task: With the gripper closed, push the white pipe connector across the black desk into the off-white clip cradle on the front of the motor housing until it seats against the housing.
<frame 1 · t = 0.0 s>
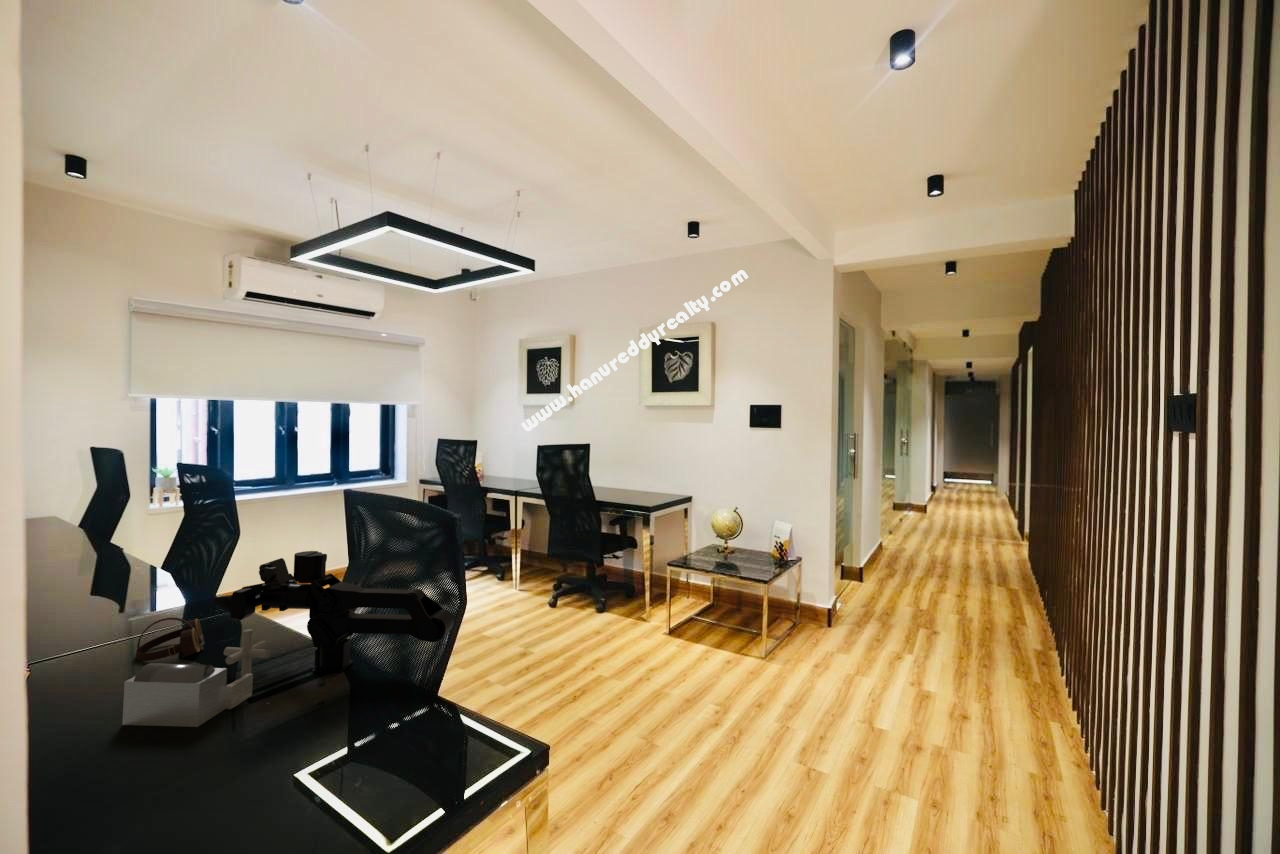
hand: (228, 594, 133), 17 cm above the table, tool horizontal, fingers open, 9 cm apart
goggles: (170, 653, 140), on the table
motor housing: (175, 716, 108), on the table
pipe connector: (246, 675, 128), on the table
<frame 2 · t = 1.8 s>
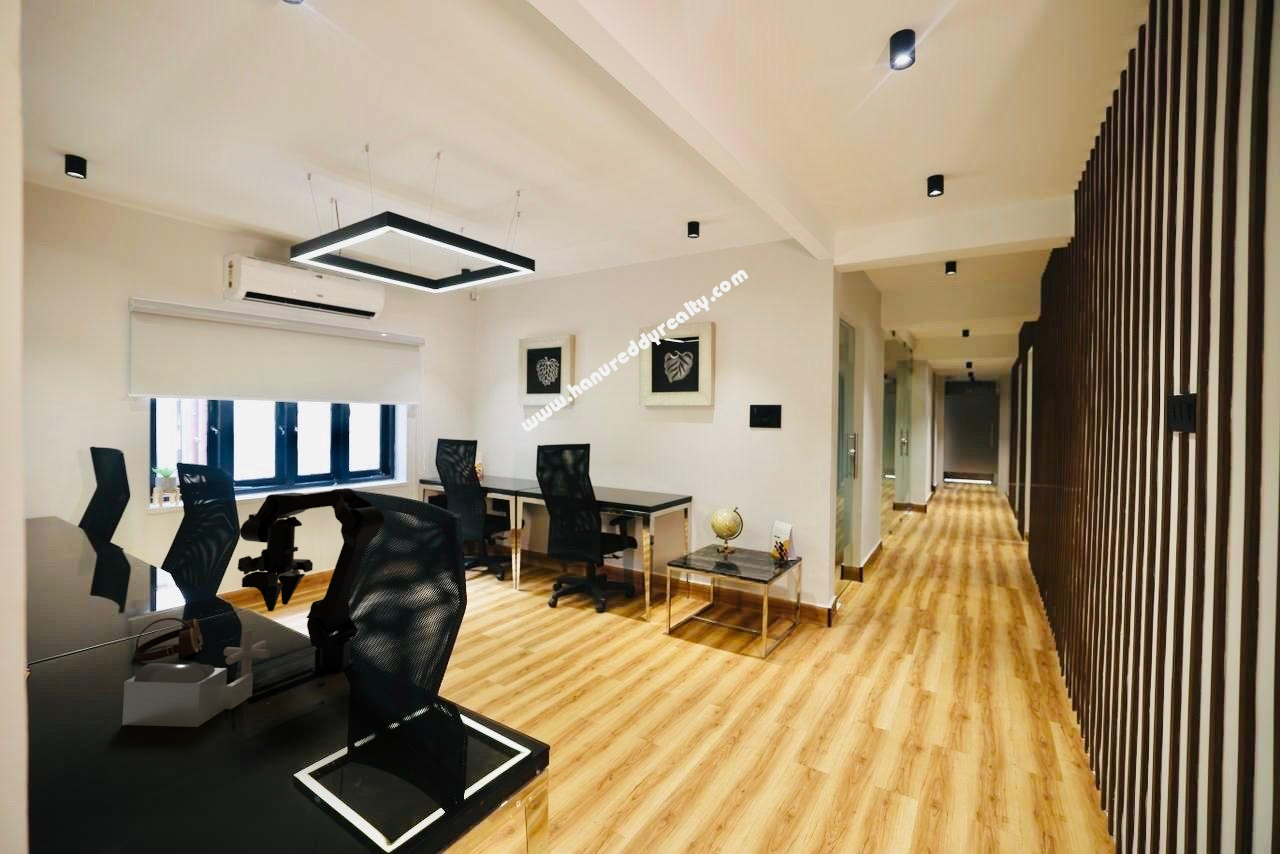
hand: (277, 607, 138), 12 cm above the table, tool pointing down, fingers open, 5 cm apart
nothing on the table moved.
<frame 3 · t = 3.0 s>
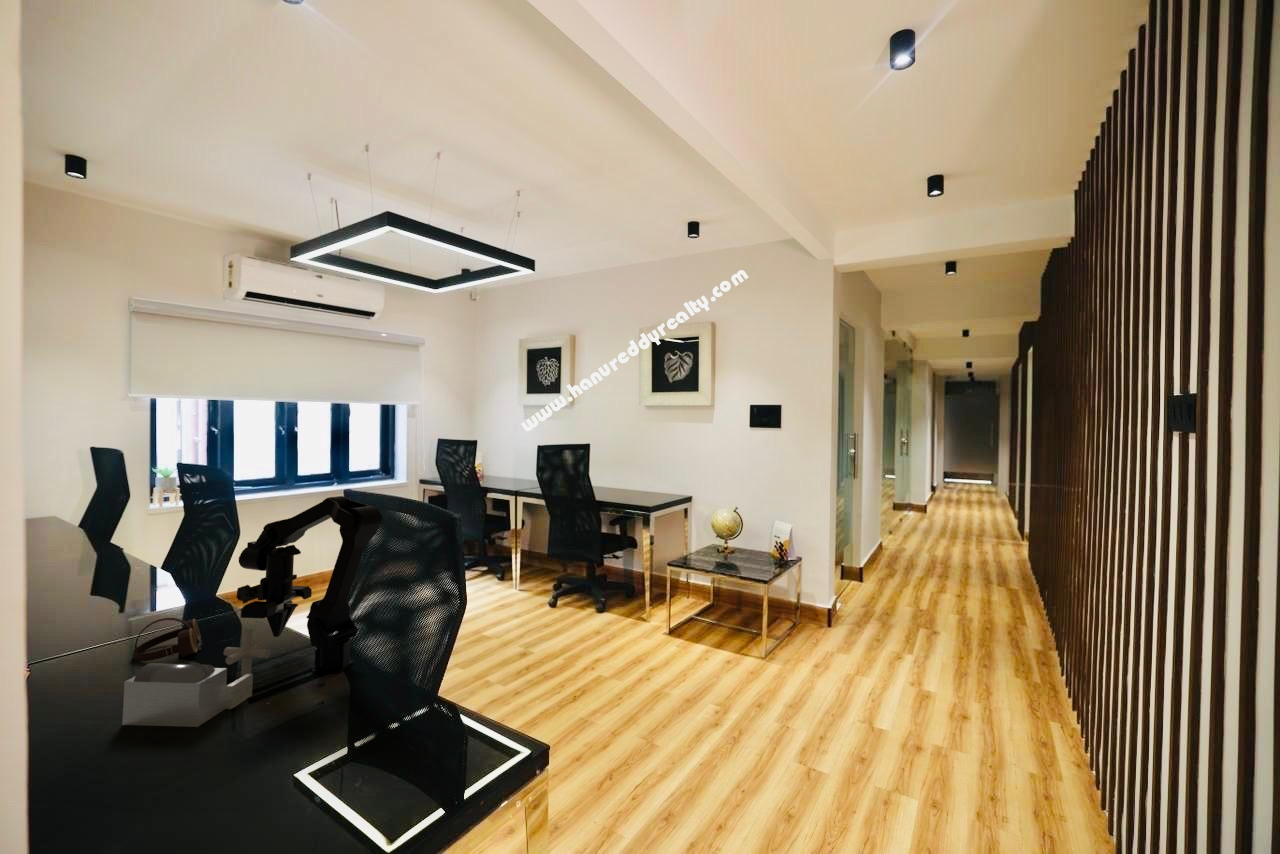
hand: (276, 636, 138), 5 cm above the table, tool pointing down, fingers closed
nothing on the table moved.
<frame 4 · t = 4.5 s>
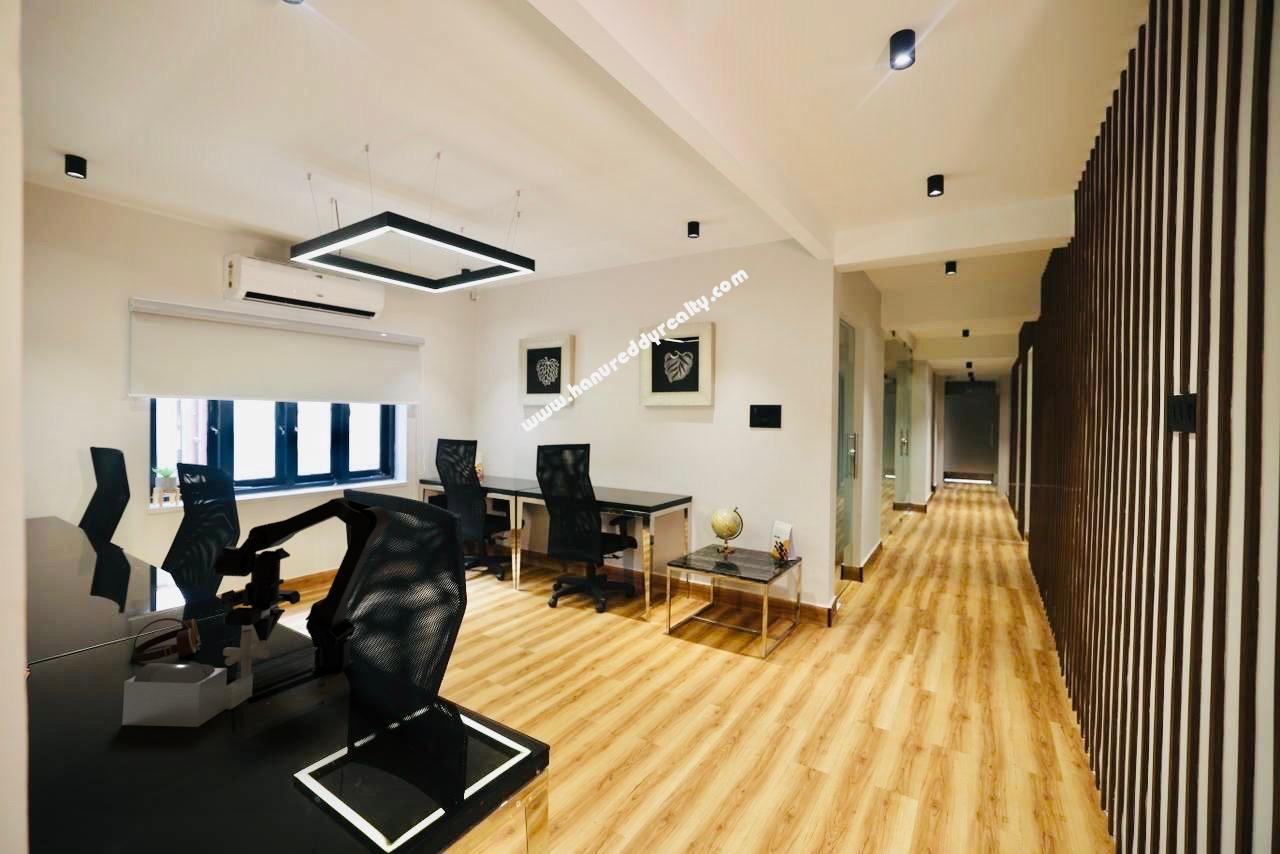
hand: (263, 643, 133), 5 cm above the table, tool pointing down, fingers closed
pipe connector: (246, 675, 128), on the table, touching gripper
everything else where it was.
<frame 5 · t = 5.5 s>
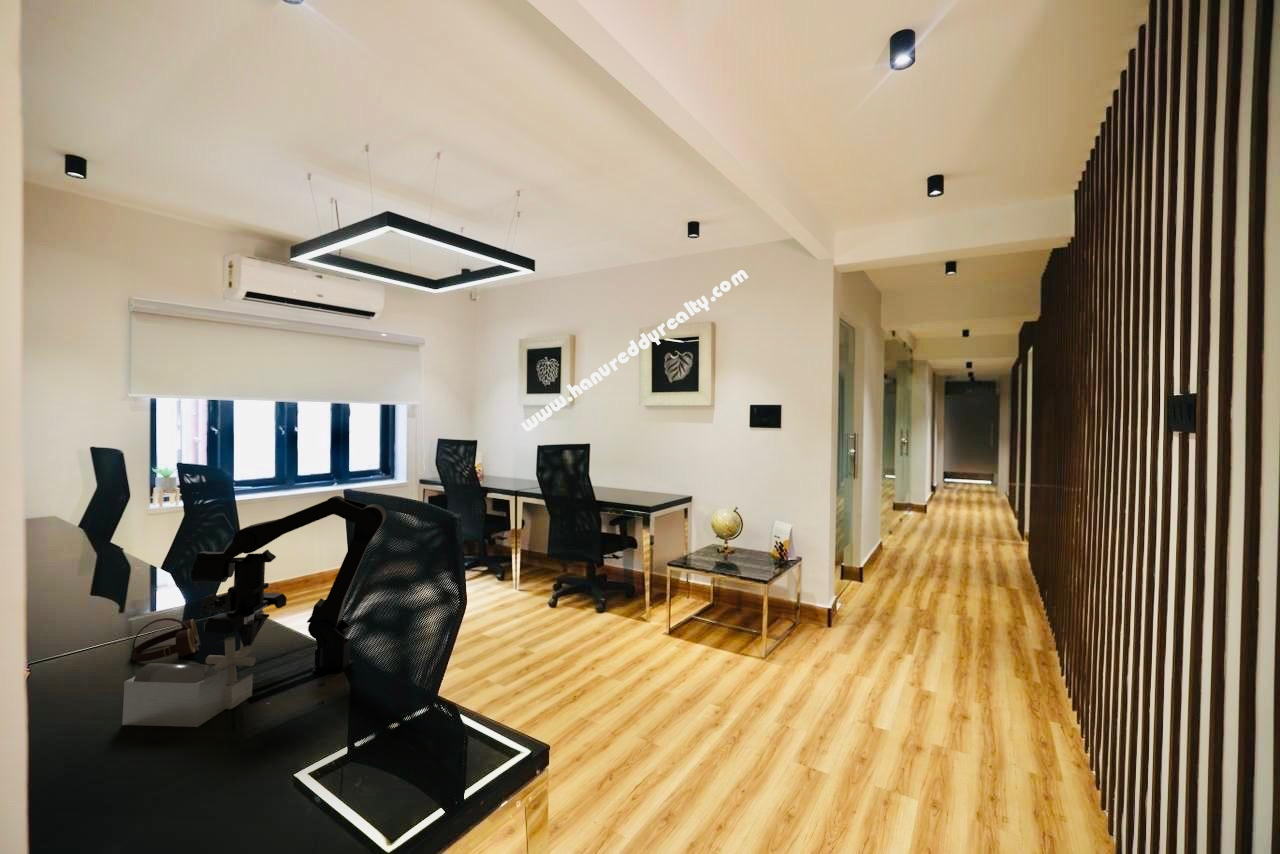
hand: (246, 648, 128), 6 cm above the table, tool pointing down, fingers closed
pipe connector: (231, 683, 123), on the table, touching gripper
everything else where it was.
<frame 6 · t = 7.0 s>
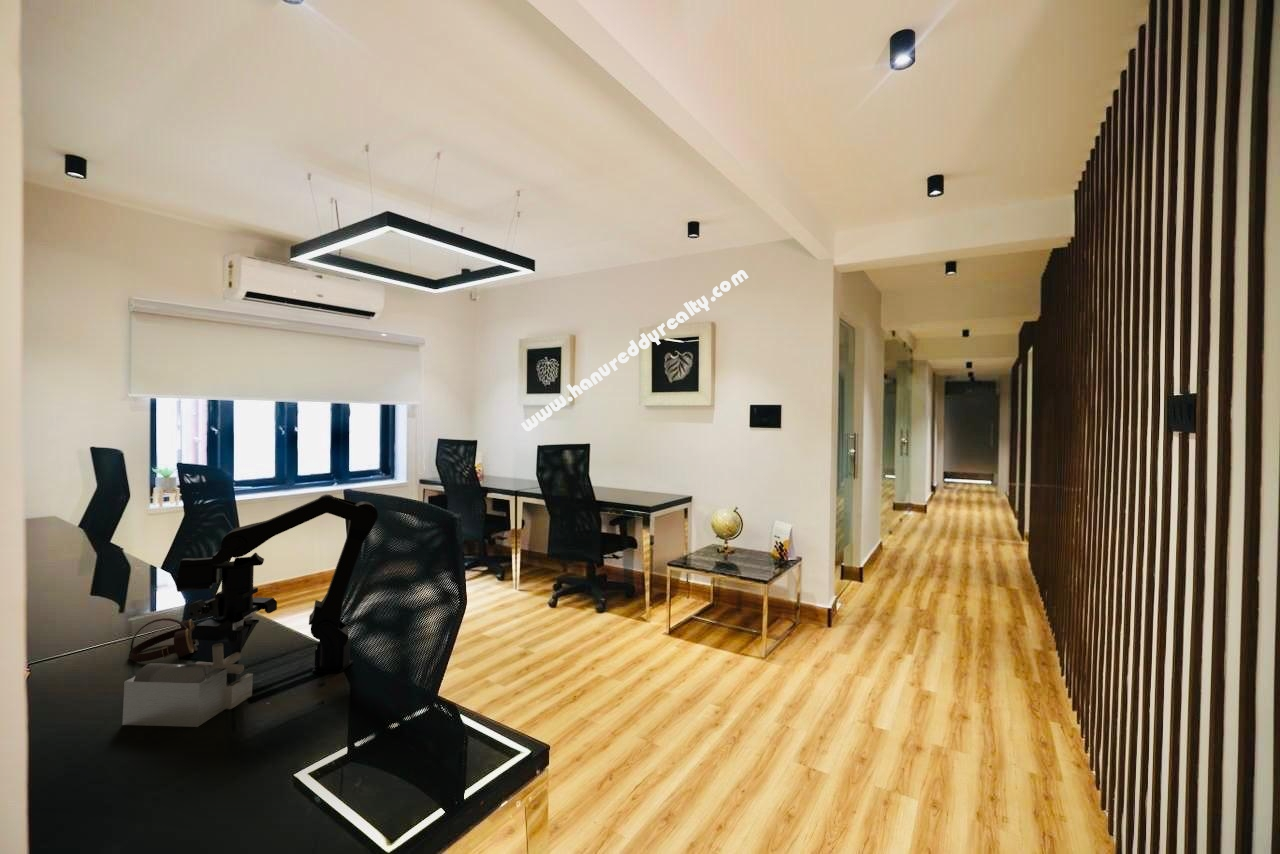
hand: (236, 655, 124), 6 cm above the table, tool pointing down, fingers closed, pressing on pipe connector
pipe connector: (219, 691, 120), on the table, touching gripper
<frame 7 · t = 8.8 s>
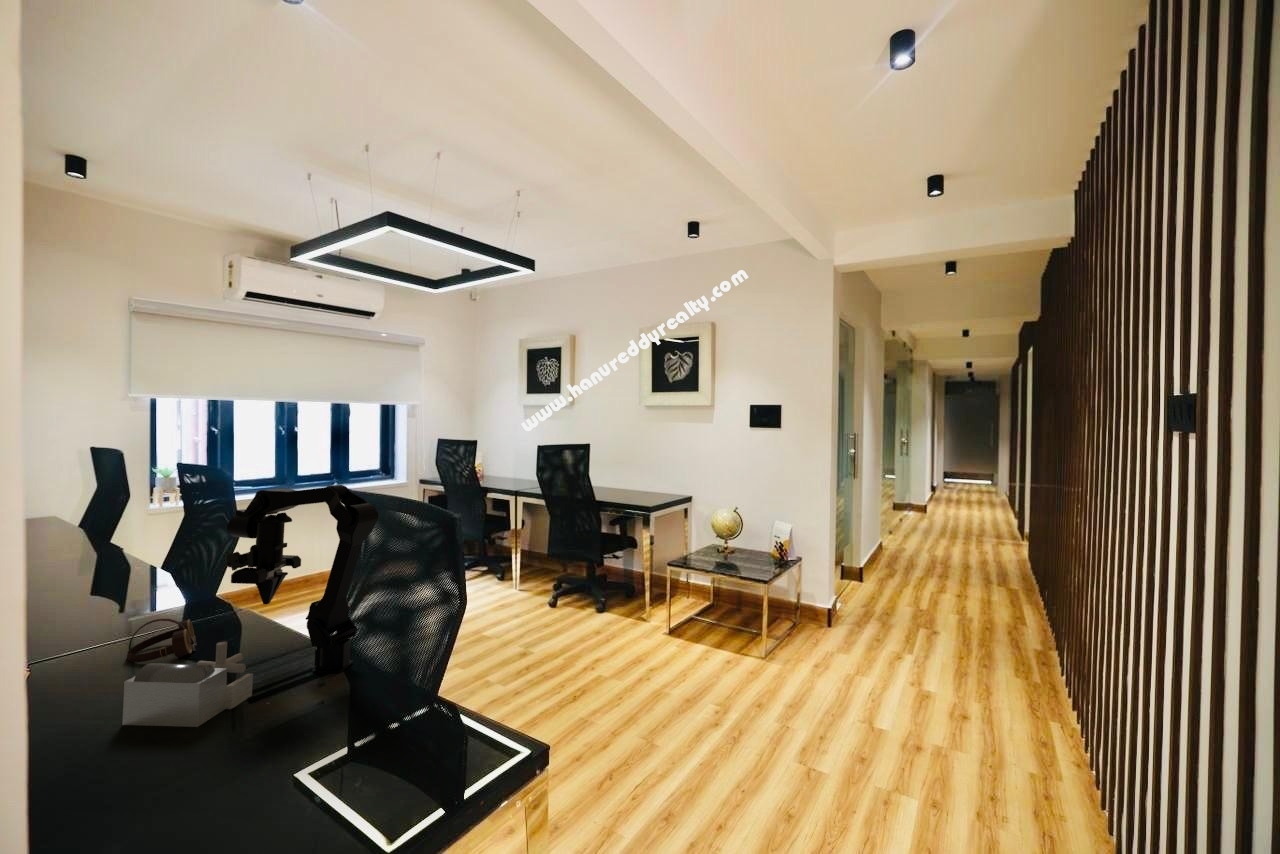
hand: (266, 603, 138), 13 cm above the table, tool pointing down, fingers closed
pipe connector: (219, 691, 120), on the table
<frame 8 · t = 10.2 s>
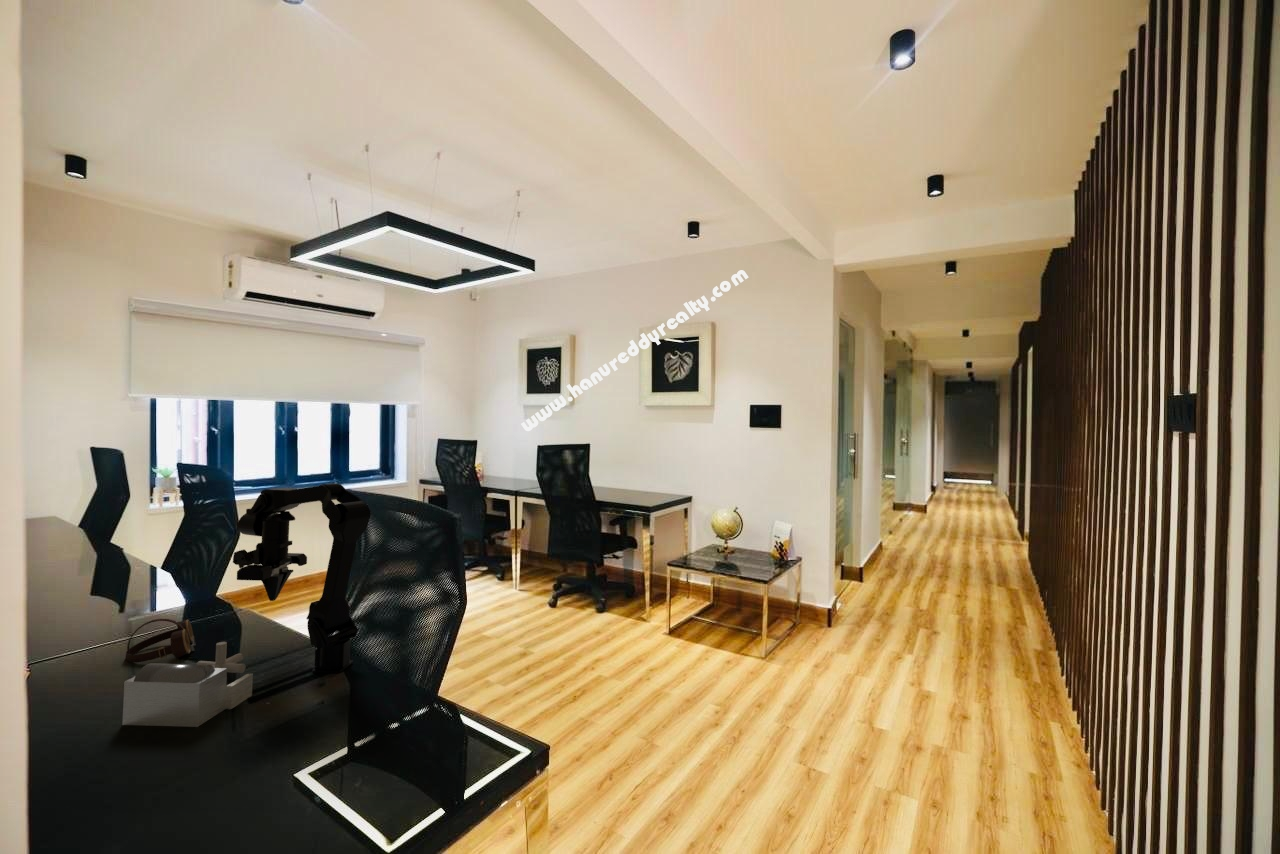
hand: (272, 600, 141), 13 cm above the table, tool pointing down, fingers closed
at the end: pipe connector inside the target area (3.2 cm from its centre), on the table; pipe connector tilted 1°; pipe connector moved 8.1 cm from its start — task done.
